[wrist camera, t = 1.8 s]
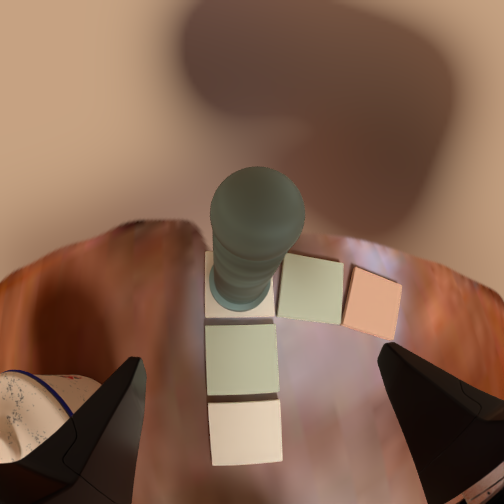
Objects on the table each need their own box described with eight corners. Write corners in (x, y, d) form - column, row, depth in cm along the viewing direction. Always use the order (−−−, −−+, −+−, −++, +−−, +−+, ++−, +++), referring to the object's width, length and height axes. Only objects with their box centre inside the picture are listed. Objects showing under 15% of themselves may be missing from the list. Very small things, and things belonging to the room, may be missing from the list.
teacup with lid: (86, 351, 19) (-5, 333, 8) (156, 437, 17) (104, 497, 7) (17, 415, 15) (-66, 421, 4) (75, 492, 13) (10, 538, 2)
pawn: (236, 324, 21) (263, 271, 9) (197, 279, 22) (176, 179, 10) (280, 285, 23) (347, 197, 11) (241, 244, 24) (265, 127, 12)
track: (243, 488, 16) (243, 490, 16) (102, 336, 20) (99, 335, 19) (414, 305, 24) (417, 303, 24) (298, 184, 28) (299, 180, 27)
